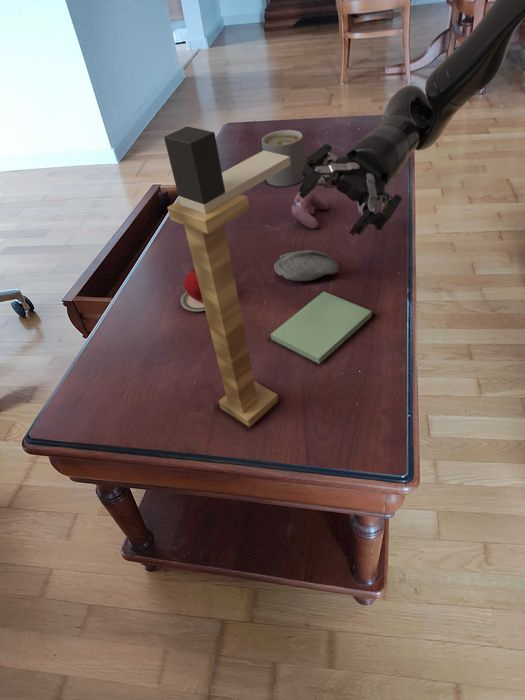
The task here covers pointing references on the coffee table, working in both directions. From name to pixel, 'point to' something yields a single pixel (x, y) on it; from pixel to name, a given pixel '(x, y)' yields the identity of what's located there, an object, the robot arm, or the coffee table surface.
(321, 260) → the seashell
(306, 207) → the video game controller
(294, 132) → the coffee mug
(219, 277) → the stand
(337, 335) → the pale green rectangular panel
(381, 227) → the robot arm
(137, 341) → the coffee table surface
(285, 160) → the wooden mallet
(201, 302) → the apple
